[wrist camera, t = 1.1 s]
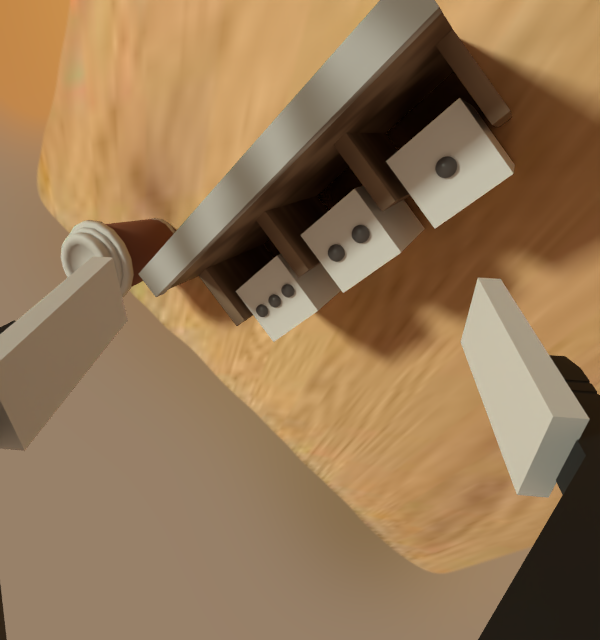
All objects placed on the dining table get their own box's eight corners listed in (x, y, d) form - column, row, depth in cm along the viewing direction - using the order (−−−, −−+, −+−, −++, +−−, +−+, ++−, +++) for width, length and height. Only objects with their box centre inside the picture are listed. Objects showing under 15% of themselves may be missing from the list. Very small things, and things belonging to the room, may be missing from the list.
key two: (387, 177, 41) (353, 188, 33) (424, 228, 41) (400, 253, 33) (341, 216, 44) (299, 235, 36) (375, 263, 45) (342, 293, 36)
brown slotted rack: (454, 34, 35) (410, -35, 21) (512, 116, 36) (508, 104, 21) (245, 234, 50) (138, 274, 36) (287, 291, 51) (198, 352, 37)
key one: (473, 106, 36) (459, 97, 28) (514, 164, 36) (513, 173, 28) (413, 155, 40) (385, 161, 31) (452, 209, 40) (434, 229, 31)
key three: (320, 233, 46) (275, 256, 38) (354, 279, 46) (317, 311, 38) (283, 264, 49) (234, 292, 41) (314, 307, 50) (272, 342, 41)
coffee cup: (179, 203, 53) (99, 219, 43) (196, 275, 56) (126, 306, 46) (125, 211, 57) (41, 228, 47) (144, 278, 60) (69, 307, 50)
